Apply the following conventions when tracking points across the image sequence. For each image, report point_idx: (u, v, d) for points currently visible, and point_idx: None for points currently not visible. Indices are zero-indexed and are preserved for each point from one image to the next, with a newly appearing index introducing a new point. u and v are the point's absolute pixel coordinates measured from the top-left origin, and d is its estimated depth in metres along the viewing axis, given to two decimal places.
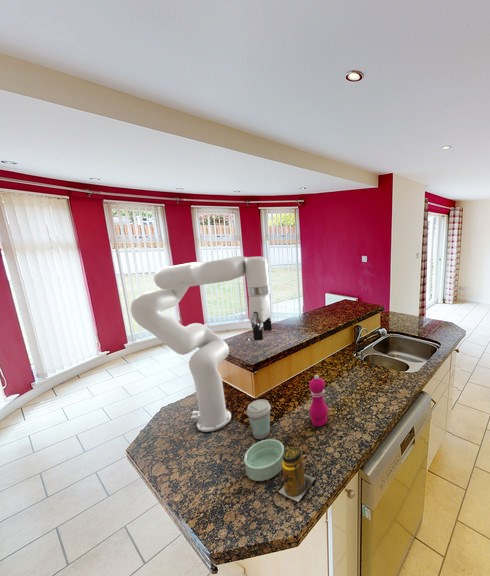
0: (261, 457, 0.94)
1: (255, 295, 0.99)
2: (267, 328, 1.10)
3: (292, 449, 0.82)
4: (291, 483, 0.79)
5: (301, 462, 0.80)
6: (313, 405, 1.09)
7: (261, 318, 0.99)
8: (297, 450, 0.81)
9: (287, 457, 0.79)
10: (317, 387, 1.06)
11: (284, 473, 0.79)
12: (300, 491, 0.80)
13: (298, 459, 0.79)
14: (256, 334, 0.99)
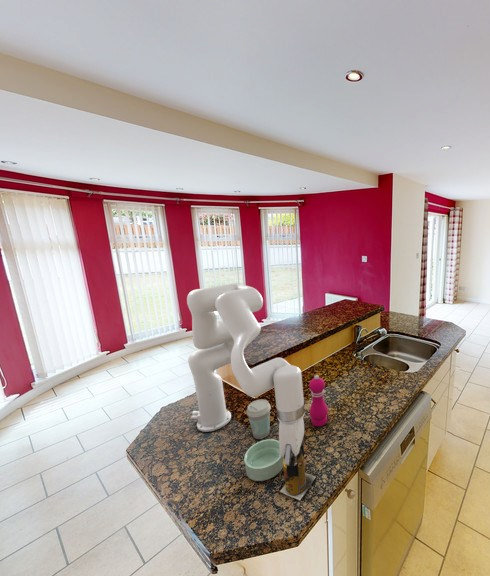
0: (261, 457, 0.94)
1: (287, 422, 0.75)
2: None
3: None
4: (292, 482, 0.79)
5: (302, 461, 0.81)
6: (313, 405, 1.09)
7: (295, 451, 0.75)
8: None
9: None
10: (317, 387, 1.06)
11: (285, 472, 0.80)
12: (301, 489, 0.81)
13: (299, 458, 0.80)
14: (291, 471, 0.77)
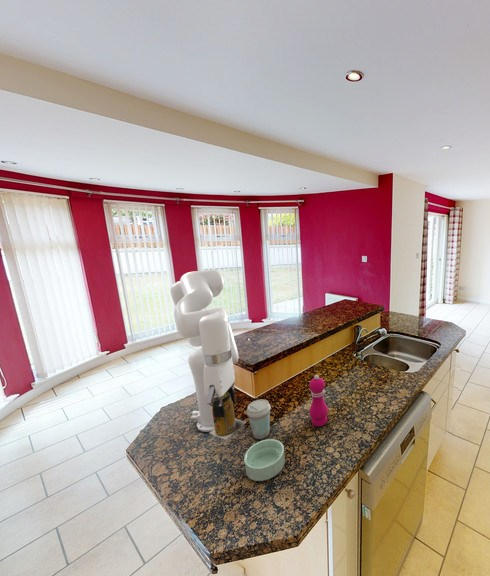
0: (261, 457, 0.94)
1: (211, 364, 0.80)
2: None
3: None
4: (219, 423, 0.85)
5: (230, 404, 0.86)
6: (313, 405, 1.09)
7: (219, 392, 0.80)
8: (227, 394, 0.87)
9: (215, 399, 0.84)
10: (317, 387, 1.06)
11: (213, 414, 0.85)
12: (229, 431, 0.86)
13: (226, 401, 0.85)
14: (216, 411, 0.82)
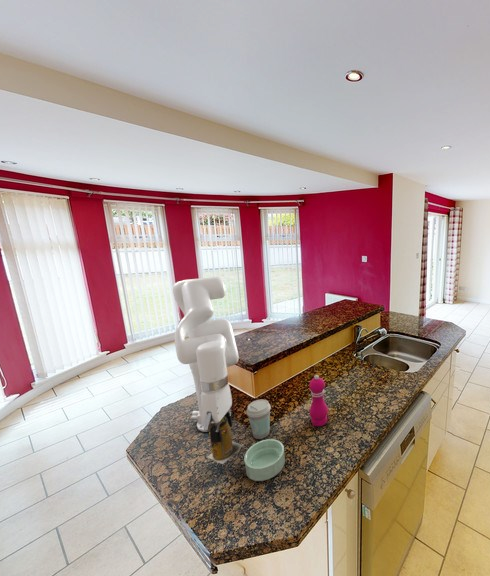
0: (261, 457, 0.94)
1: (208, 391, 0.82)
2: None
3: None
4: (217, 447, 0.87)
5: (227, 429, 0.88)
6: (313, 405, 1.09)
7: (216, 418, 0.83)
8: (224, 418, 0.89)
9: (212, 424, 0.87)
10: (317, 387, 1.06)
11: (210, 439, 0.87)
12: (226, 455, 0.88)
13: (223, 425, 0.87)
14: (213, 437, 0.85)
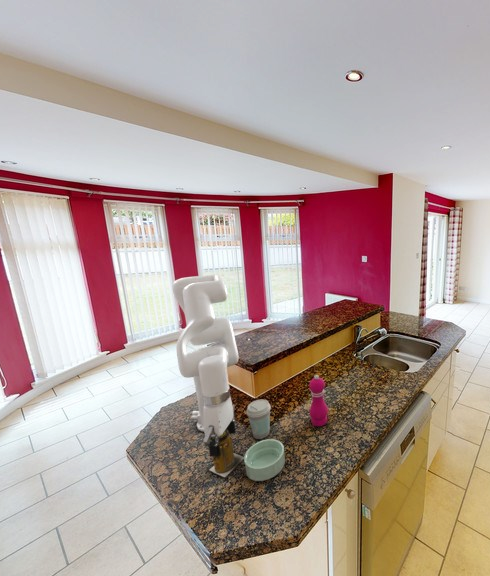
0: (261, 457, 0.94)
1: (211, 405, 0.83)
2: (230, 431, 0.94)
3: None
4: (219, 461, 0.88)
5: (229, 442, 0.89)
6: (313, 405, 1.09)
7: (218, 432, 0.84)
8: (226, 431, 0.90)
9: (214, 437, 0.88)
10: (317, 387, 1.06)
11: None
12: (228, 468, 0.89)
13: (225, 439, 0.88)
14: (212, 451, 0.84)
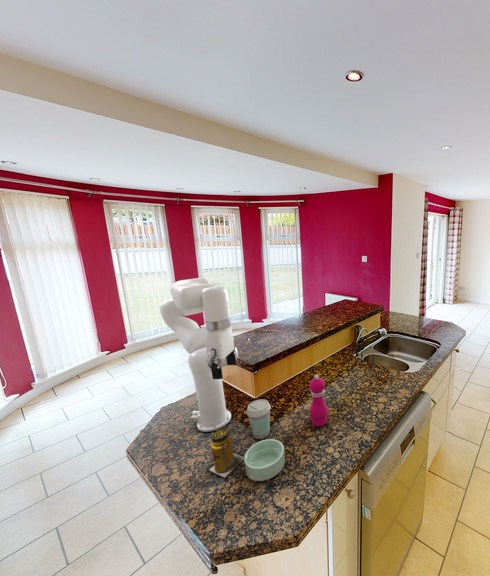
0: (261, 457, 0.94)
1: (213, 330, 0.89)
2: (231, 362, 1.00)
3: (221, 431, 0.91)
4: (219, 461, 0.88)
5: (229, 442, 0.89)
6: (313, 405, 1.09)
7: (220, 355, 0.90)
8: (226, 431, 0.90)
9: (214, 437, 0.88)
10: (317, 387, 1.06)
11: (212, 452, 0.88)
12: (228, 468, 0.89)
13: (225, 439, 0.88)
14: (214, 373, 0.90)
